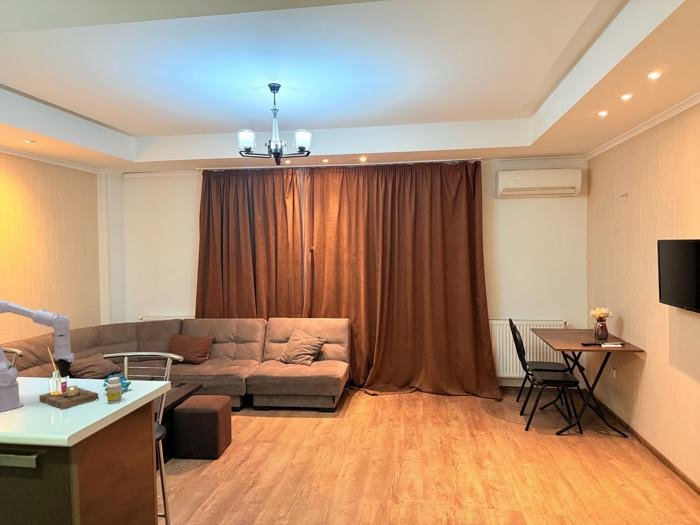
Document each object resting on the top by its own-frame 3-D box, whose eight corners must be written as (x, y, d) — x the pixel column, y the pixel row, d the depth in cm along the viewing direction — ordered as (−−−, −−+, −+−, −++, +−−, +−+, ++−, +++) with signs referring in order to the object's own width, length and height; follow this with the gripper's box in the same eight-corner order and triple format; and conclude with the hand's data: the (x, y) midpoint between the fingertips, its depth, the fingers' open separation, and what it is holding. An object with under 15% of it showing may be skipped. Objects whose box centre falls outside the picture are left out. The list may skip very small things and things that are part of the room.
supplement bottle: (118, 403, 193) (116, 380, 192) (104, 404, 193) (103, 380, 192) (124, 399, 198) (123, 376, 198) (111, 399, 198) (110, 376, 198)
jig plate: (39, 401, 199) (39, 395, 199) (74, 392, 210) (74, 386, 210) (62, 409, 187) (62, 403, 187) (98, 399, 199) (98, 393, 199)
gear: (103, 393, 201) (103, 373, 207) (101, 401, 204) (101, 381, 210) (132, 392, 207) (131, 372, 213) (129, 399, 210) (128, 379, 217)
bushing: (65, 402, 197) (64, 387, 196) (75, 399, 200) (74, 385, 200) (70, 403, 194) (69, 389, 194) (80, 400, 198) (79, 386, 198)
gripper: (81, 344, 199) (82, 376, 199) (64, 341, 207) (66, 372, 208) (63, 347, 193) (65, 381, 194) (46, 344, 201) (48, 376, 202)
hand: (64, 377), depth 200 cm, fingers closed
